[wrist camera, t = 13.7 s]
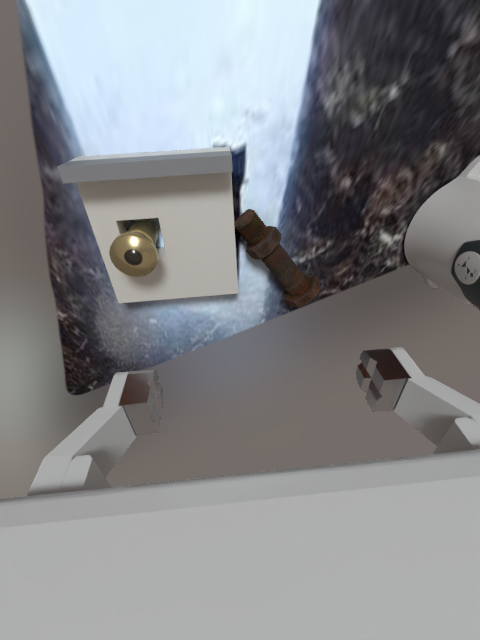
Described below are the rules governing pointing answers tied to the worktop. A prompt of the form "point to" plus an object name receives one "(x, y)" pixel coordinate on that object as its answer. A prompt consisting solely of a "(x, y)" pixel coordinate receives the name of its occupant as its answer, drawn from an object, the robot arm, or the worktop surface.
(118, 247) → the bushing
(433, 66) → the worktop surface
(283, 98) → the worktop surface
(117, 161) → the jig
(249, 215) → the bolt
